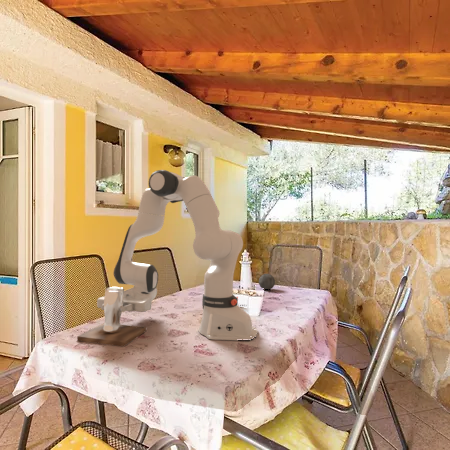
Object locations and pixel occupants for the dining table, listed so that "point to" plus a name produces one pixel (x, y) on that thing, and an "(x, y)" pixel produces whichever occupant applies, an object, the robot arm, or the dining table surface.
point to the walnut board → (112, 335)
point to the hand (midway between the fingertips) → (112, 308)
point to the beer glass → (113, 308)
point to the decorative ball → (266, 281)
